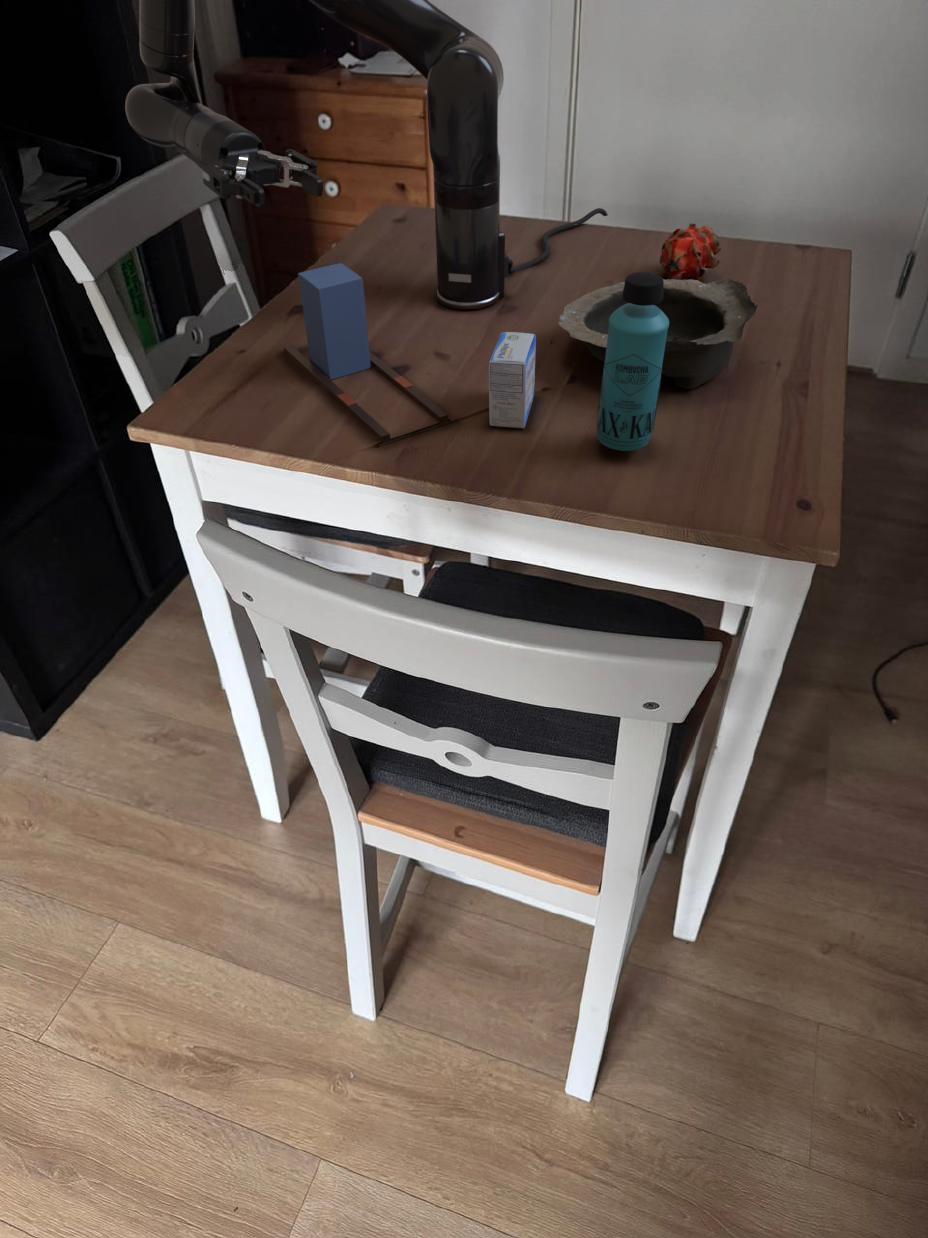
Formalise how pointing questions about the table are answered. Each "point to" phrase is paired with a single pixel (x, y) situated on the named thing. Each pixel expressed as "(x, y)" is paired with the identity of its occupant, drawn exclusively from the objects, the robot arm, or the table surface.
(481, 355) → the table surface
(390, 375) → the track
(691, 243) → the dragon fruit
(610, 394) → the beverage bottle
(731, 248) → the table surface
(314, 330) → the block
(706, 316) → the stone bowl
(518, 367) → the medicine box
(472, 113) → the robot arm
